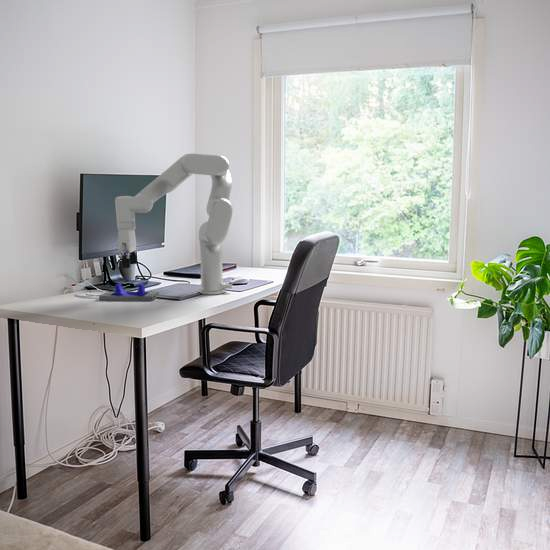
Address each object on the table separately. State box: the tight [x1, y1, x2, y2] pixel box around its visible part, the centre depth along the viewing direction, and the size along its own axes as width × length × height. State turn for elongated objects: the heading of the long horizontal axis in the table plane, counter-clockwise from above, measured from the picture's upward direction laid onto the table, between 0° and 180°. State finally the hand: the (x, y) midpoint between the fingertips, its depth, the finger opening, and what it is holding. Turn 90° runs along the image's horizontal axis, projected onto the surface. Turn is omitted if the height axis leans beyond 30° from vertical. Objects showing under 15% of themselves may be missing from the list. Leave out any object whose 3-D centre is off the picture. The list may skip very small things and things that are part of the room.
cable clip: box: [113, 283, 146, 296], centre depth 275 cm, size 12×4×6 cm, turn 82°
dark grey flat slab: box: [98, 291, 160, 302], centre depth 275 cm, size 23×10×2 cm, turn 85°
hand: (130, 265), depth 273 cm, fingers open, 9 cm apart
